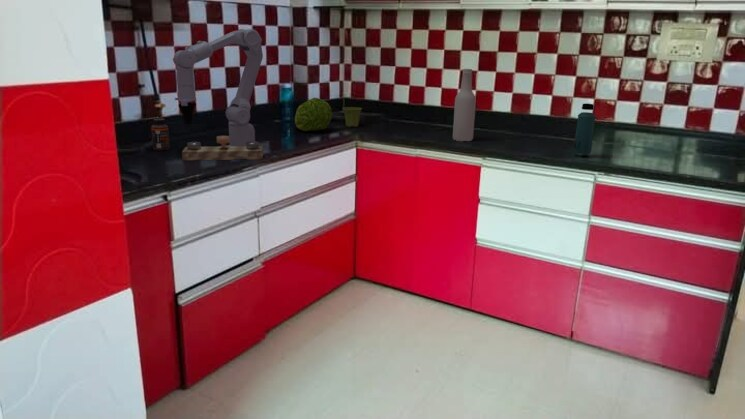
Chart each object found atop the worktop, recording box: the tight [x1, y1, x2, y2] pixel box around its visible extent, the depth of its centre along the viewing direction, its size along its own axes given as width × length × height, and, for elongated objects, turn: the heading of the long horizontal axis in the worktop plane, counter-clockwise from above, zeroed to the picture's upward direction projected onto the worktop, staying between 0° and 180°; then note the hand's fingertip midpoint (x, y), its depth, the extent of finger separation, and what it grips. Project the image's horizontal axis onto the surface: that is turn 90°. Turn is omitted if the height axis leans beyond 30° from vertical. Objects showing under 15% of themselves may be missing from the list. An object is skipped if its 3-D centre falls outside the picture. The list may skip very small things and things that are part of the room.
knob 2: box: [246, 140, 260, 149], centre depth 200 cm, size 4×4×4 cm
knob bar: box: [181, 145, 264, 161], centre depth 199 cm, size 27×9×3 cm, turn 100°
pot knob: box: [216, 135, 230, 148], centre depth 198 cm, size 4×4×4 cm
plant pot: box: [342, 106, 363, 128], centre depth 274 cm, size 9×9×9 cm
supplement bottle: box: [150, 118, 171, 151], centre depth 208 cm, size 6×6×11 cm
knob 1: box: [187, 141, 202, 150], centre depth 197 cm, size 4×4×4 cm
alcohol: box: [452, 68, 477, 142], centre depth 240 cm, size 9×9×30 cm
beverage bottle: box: [572, 102, 596, 155], centre depth 212 cm, size 6×7×20 cm
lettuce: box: [294, 97, 333, 132], centre depth 258 cm, size 15×25×16 cm
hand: (188, 123), depth 203 cm, fingers closed
